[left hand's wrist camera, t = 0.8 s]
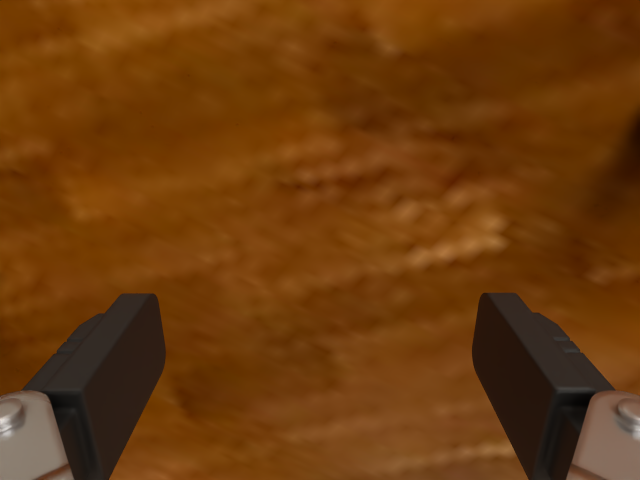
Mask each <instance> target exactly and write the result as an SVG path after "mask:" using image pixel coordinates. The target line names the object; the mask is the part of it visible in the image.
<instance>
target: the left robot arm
mask: <svg viewBox="0 0 640 480" xmlns="http://www.w3.org/2000/svg"><path fill="white" fill-rule="evenodd" d="M165 354H166V351H165V342H164V335H163V329H162V322H161V315H160V309H159V303H158V299H157V297H156V295H155V294H121V295H120V296H119V297H118V298H117V300H116V301H115V302H114V303H113V304H112V306H111V307H110V308H109V309H108V310H107V312H106V313H105V314H97V315H96V316H94V317H92V318H91V319H89V320H88V321H86V322H84V323H83V324H81V325H80V326H79V327H78V328H77V329H76V330H75V331H74V332H73V333H72V334H71V336H70V337H69V338H68V339H67V342H64V343H63V345H62V346H61V347H60V348H59V349H58V350H57V354H54V355H53V356H52V357H51V358H50V359H49V360H48V361H47V362H46V364H45V365H44V366H43V367H42V368H41V369H40V370H39V371H38V372H37V374H36V375H35V376H34V377H33V378H32V379H31V380H30V381H29V382H28V384H27V385H26V386H25V387H24V388H23V389H22V390H21V391H17V392H12V393H8V394H5V395H2V396H0V480H109V478H110V476H111V474H112V472H113V470H114V468H115V466H116V464H117V462H118V460H119V458H120V456H121V454H122V452H123V450H124V448H125V446H126V444H127V442H128V440H129V438H130V436H131V434H132V432H133V430H134V428H135V426H136V424H137V422H138V420H139V418H140V416H141V414H142V412H143V410H144V408H145V406H146V404H147V402H148V400H149V398H150V396H151V394H152V392H153V390H154V388H155V386H156V384H157V382H158V380H159V378H160V376H161V374H162V371H163V368H164V364H165ZM472 358H473V365H474V368H475V371H476V374H477V376H478V378H479V380H480V382H481V384H482V386H483V388H484V390H485V392H486V394H487V396H488V398H489V400H490V402H491V404H492V406H493V408H494V410H495V412H496V414H497V416H498V418H499V420H500V422H501V424H502V426H503V428H504V430H505V432H506V434H507V436H508V438H509V440H510V442H511V444H512V446H513V448H514V450H515V453H516V455H517V457H518V459H519V461H520V463H521V465H522V467H523V469H524V471H525V473H526V475H527V477H528V479H529V480H640V396H638V395H635V394H632V393H628V392H623V391H616V390H615V389H614V388H613V387H612V385H611V384H610V383H609V382H608V381H607V380H606V379H605V378H604V376H603V375H602V374H601V373H600V372H599V371H598V370H597V369H596V367H595V366H594V365H593V364H592V363H591V362H590V361H589V360H588V358H587V357H586V356H585V355H584V354H583V353H580V349H579V348H578V347H577V346H576V345H575V344H574V343H573V341H570V338H569V337H568V336H567V335H566V334H565V332H564V331H563V330H562V329H561V328H560V327H559V326H558V325H557V324H556V323H554V322H553V321H551V320H549V319H548V318H546V317H544V316H543V315H541V314H540V313H532V312H531V311H530V309H529V308H528V307H527V306H526V305H525V303H524V302H523V301H522V300H521V299H520V297H519V296H518V295H517V294H516V293H483V294H482V295H481V297H480V300H479V305H478V312H477V319H476V325H475V332H474V339H473V346H472Z"/></svg>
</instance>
